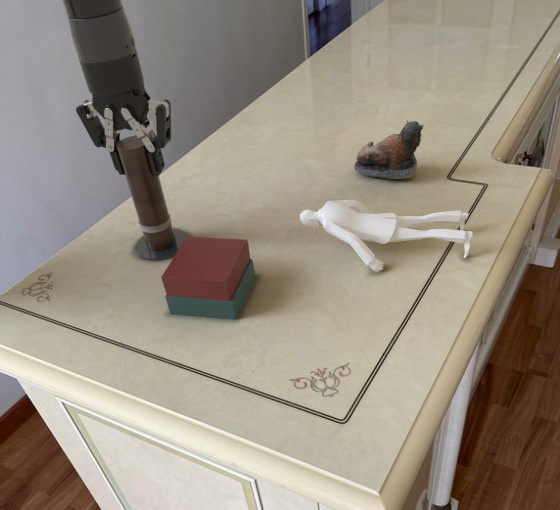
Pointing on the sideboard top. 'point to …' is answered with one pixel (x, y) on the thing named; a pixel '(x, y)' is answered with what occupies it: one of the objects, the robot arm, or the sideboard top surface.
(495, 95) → the sideboard top surface
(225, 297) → the red and teal box
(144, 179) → the pepper mill
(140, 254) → the coaster
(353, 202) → the male figurine
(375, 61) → the sideboard top surface
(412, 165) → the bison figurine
